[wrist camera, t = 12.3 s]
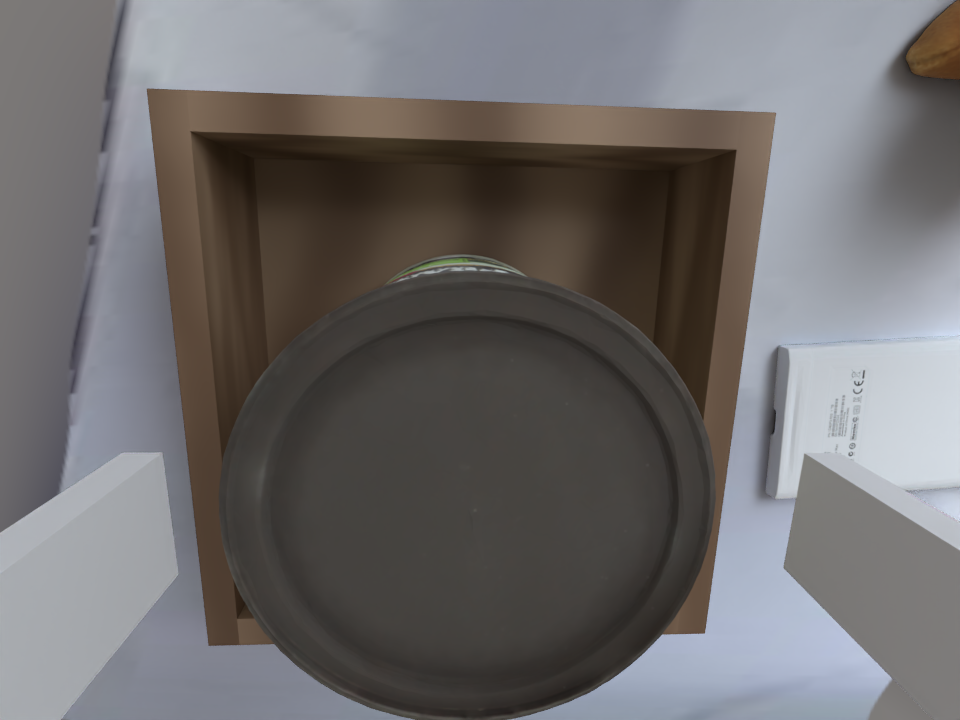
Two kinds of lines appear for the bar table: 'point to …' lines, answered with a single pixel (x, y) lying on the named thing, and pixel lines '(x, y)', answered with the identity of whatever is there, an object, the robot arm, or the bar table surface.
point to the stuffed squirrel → (938, 47)
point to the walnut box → (444, 244)
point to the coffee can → (467, 494)
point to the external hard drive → (869, 410)
